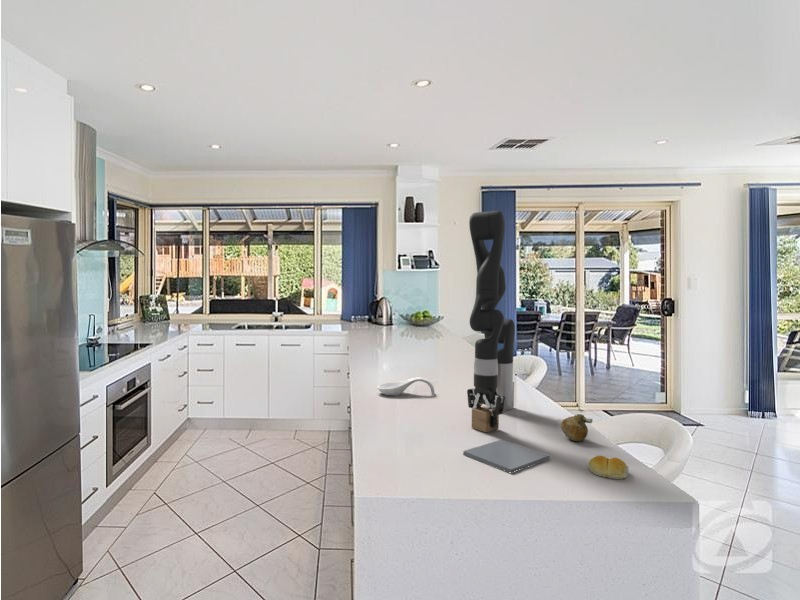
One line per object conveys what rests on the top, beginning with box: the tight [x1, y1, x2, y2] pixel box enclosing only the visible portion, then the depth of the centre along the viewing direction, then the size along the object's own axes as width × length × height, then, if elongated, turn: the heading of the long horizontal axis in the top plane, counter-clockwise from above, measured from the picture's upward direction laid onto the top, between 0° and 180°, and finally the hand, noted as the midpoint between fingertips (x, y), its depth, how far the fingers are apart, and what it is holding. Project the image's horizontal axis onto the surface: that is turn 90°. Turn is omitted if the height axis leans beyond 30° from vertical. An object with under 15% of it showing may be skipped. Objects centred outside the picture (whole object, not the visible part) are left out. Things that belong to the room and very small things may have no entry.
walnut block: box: [471, 405, 500, 433], centre depth 153 cm, size 6×6×6 cm
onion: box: [560, 414, 593, 442], centre depth 143 cm, size 8×8×8 cm
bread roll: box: [588, 455, 629, 480], centre depth 119 cm, size 8×9×4 cm
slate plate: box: [462, 439, 550, 474], centre depth 128 cm, size 16×16×1 cm
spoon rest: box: [377, 376, 436, 396], centre depth 199 cm, size 24×12×7 cm, turn 90°
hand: (484, 424), depth 153 cm, fingers closed on walnut block, 6 cm apart
